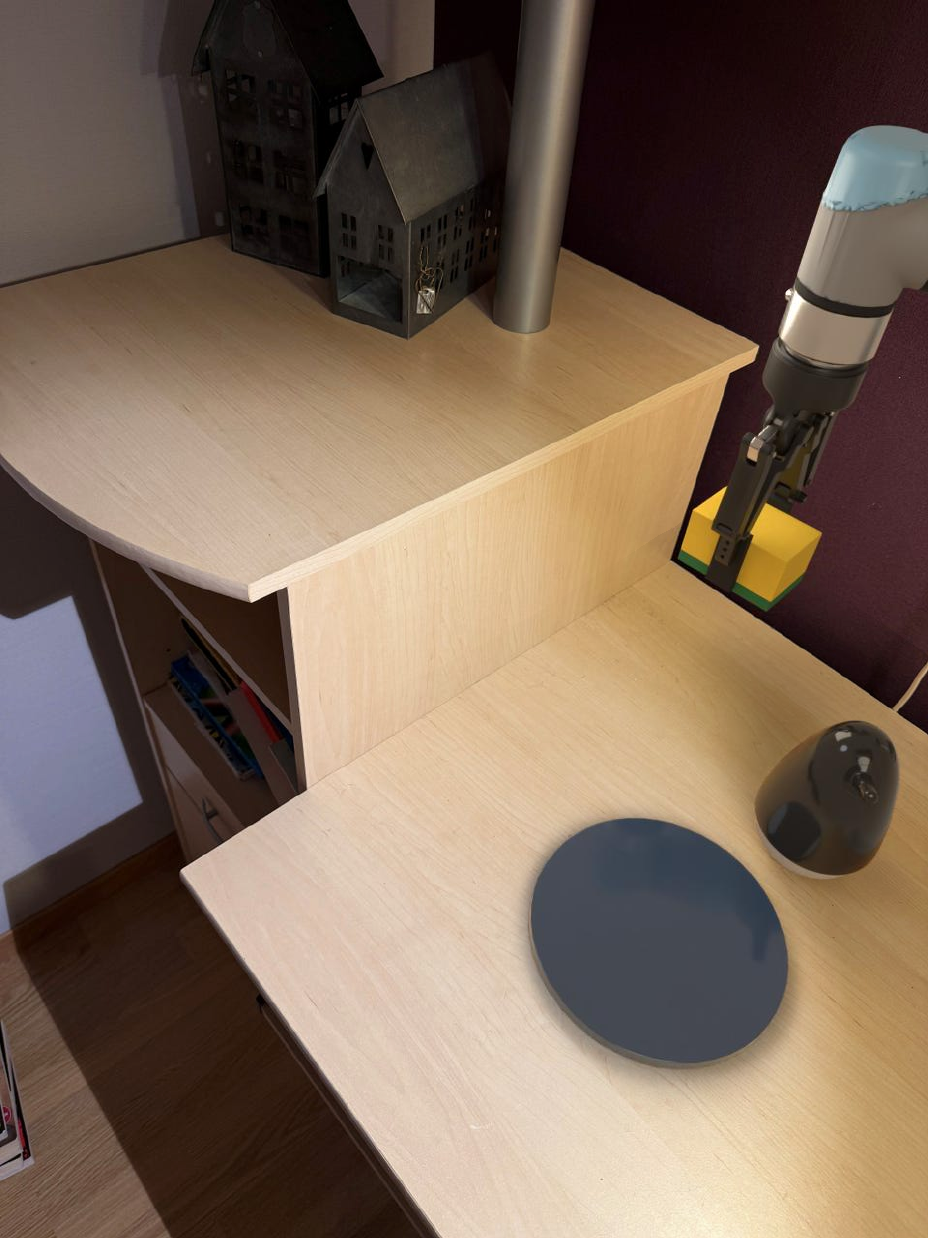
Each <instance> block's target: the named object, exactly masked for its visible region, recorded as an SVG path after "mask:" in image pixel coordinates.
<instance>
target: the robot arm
mask: <svg viewBox="0 0 928 1238" xmlns="http://www.w3.org/2000/svg"><path fill="white" fill-rule="evenodd" d="M907 288H908V289H912V290H916V291H920V292H925V293H928V133H926V132H922V131H920V130H919V129H916V128H910V127H905V126H897V125H896V126H895V125H873V126H871V125H870V126H867V127H863V128H861V129H858V130H856V131H855V132H854V133H852V134H851V135H850V136H849V137H848V138H847V140H846V141H845V143H844V144H843V145H842V147H841V149H840V153H839V155H838V158H837V159H836V162H835V166H834V168H833V170H832V172H831V176H830V178H829V180H828V183H827V186H826V188H825V190H824V191H823V192H822V196H821V200H820V204H819V206H818V210H817V213H816V216H815V219H814V221H813V225H812V228H811V231H810V234H809V237H808V240H807V244H806V246H805V249H804V253H803V256H802V258H801V262H800V265H799V267H798V270H797V274H796V277H795V280H794V284H793V286H792V287H790V288H789V289H788V290H787V291H786V292H785V295H784V298H785V300H786V301H788V302H787V303H786V308H785V310H784V313H783V317H782V319H781V322H780V325H779V328H778V335H779V336H777V338H775V339H774V341H773V342H772V345H771V346H772V347H771V349H770V352H769V355H768V358H767V361H766V363H765V367H764V369H763V373H762V377H761V378H762V384H763V386H764V388H765V390H766V391H767V392H768V393H769V395H770V396H771V398H772V401H773V404H772V405H771V406H770V407H769V408H768V409H767V410H766V412H765V414H764V416H763V417H762V420H761V421H760V422H761V423H760V426H761V428H760V430H759V433H758V435H756V434H754V433H752V432H750V431H747V432H746V434H745V435H744V436H743V437H742V439H741V442H740V447H739V452H738V457H737V460H736V462H735V465H734V468H733V470H732V472H731V475H730V477H729V480H728V483H727V485H726V486H727V488H726V490H725V493H724V496H723V498H722V501H721V503H720V506H719V509H718V511H717V514H716V516H715V518H714V520H713V524H712V527H711V530H713V531H714V532H716V533H718V534H719V535H720V536H719V539H718V542H717V545H716V548H715V550H714V553H713V556H712V559H711V562H710V565H709V567H708V570H707V573H706V575H704V579H705V580H707V581H709V582H710V583H711V584H714V585H715V586H717V587H718V588H720V589H722V590H723V591H725V592H726V593H728V594H729V593H731V592H733V591H732V590H733V588H734V585H735V583H736V580H737V578H738V575H739V572H740V570H741V567H742V565H743V562H744V559H745V557H746V554H747V552H748V549H749V546H750V544H751V541H752V539H753V536H754V535H752V534H750V532H751V530H752V528H753V527H754V525H755V523H756V521H757V519H758V517H759V515H760V513H761V511H762V509H763V507H764V505H765V503H767V504H769V505H771V506H773V507H775V508H777V509H778V510H780V511H782V512H784V513H786V514H788V515H791V512H792V510H793V508H794V503H793V502H796V503H798V504H799V505H803V504H804V503H805V502H806V501H807V499H808V497H809V494H808V493H806V492H804V491H802V490H803V488H805V489H807V488H808V487H809V486H811V484H812V483H813V480H814V476H815V474H816V471H817V468H818V466H819V463H820V460H821V458H822V456H823V454H824V451H825V447H826V445H827V442H828V440H829V438H830V435H831V432H832V429H833V426H834V424H835V422H836V419H837V418H838V415H839V413H840V411H843V410H845V409H847V408H849V407H850V406H852V404H853V403H854V402H855V400H856V398H857V395H858V393H859V391H860V388H861V386H862V384H863V382H864V379H865V377H866V375H867V371H868V369H869V366H870V364H869V361H870V360H871V359H873V358H874V357H875V354H876V353H877V350H878V348H879V345H880V343H881V340H882V338H883V335H884V333H885V330H886V329H887V326H888V323H889V321H890V319H891V316H892V314H893V311H894V309H895V306H896V304H897V301H898V299H899V296H900V295H901V294H902V291H903V289H907ZM773 491H774V492H773Z"/></svg>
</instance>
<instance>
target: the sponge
mask: <svg viewBox="0 0 928 1238" xmlns="http://www.w3.org/2000/svg"><path fill="white" fill-rule="evenodd" d="M726 488H727V485H726V486H725V487H723V488H722V489H721V490H719V491H718V492H716V493H715V494H714V495H712V496H711V497H709V498H707V499H706V500H705V501H704V502H702V503H701V504H699V505H697V507H695V508H693V510H692V512H691V515H690V519H689V522H688V525H687V528H686V531H685V535H684V538H683V541H682V544H681V548H680V550H679V554H678V557H677V560H679V561H681V562H683V563H684V564H685V565H688V566H689V567H691V568H693V569H694V570H696V571H697V572H699V573H701V574H702V575H704V576H706V573H707V570H708V567H709V565H710V562H711V559H712V556H713V553H714V550H715V548H716V545H717V542H718V539H719V536H720V535H719V534H718V533H716V532H714V531H713V530H711V527H712V524H713V520H714V518H715V516H716V514H717V511H718V509H719V506H720V503H721V501H722V498H723V496H724V493H725V490H726ZM750 534H752V535H754V536H753V539H752V541H751V544H750V546H749V549H748V552H747V554H746V557H745V559H744V562H743V565H742V567H741V570H740V572H739V575H738V578H737V580H736V583H735V585H734V588H733V590H732V591H731V592H733V593H734V594H736V595H737V596H740V597H741V598H743V599H745V601H748V602H749V603H751V604H753V605H754V606H756V607H757V608H759V609H761V610H763V611H764V612H768V611H770V610H771V608H773V607H774V606H775V605H776V604H777V603H778V602H780V601H781V600H782V599H783V598H784V597H785V596H786V595H787V594H789V593H790V592H791V591H792V590H793V589H794V588H796V587H797V586H798V585H799V584H800V583H801V582H802V580H803V578H804V576H805V574H806V571H807V569H808V566H809V564H810V561H811V560H812V557H813V555H814V553H815V551H816V548H817V547H818V544H819V542H820V539H821V537H822V535H823V532H821V531H819V530H818V529H816V528H815V527H812V526H810V525H808V524H807V523H805V522H803V521H800V520H799V519H798V518H795V517H793V516H792V515H791V514H789V515H788V514H786V513H784V512H782V511H780V510H778V509H777V508H775V507H773V506H771V505H769V504H767V503H765V505H764V507H763V509H762V511H761V513H760V515H759V517H758V519H757V521H756V523H755V525H754V527H753V528H752V530H751V532H750Z"/></svg>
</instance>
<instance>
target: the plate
mask: <svg viewBox="0 0 928 1238" xmlns="http://www.w3.org/2000/svg"><path fill="white" fill-rule="evenodd" d="M529 904H530V905H529V911H528V933H529V934H528V935H529V943H530V948H531V952H532V957H533V959H534V962H535V966H536V969H537V971H538V973H539V975H540V978H541V979H542V981H543V983H544V985H545V987H546V989H547V991H548V993H549V994H550V996H551V997H552V998H553V1000H554V1001H555V1002H556V1004H557V1005H558V1008H560V1009H561V1011H562V1012H563V1013H564V1014H565V1015H566V1016H567V1017H568V1018H569V1019H570V1021H571V1022H572V1023H573V1024H574V1025H576V1026H577V1027H578V1028H579V1029H580V1030H581V1031H582V1032H583V1033H584V1034H586V1035H587V1036H588V1037H590V1038H591V1039H592V1040H594V1041H595V1042H597V1043H598V1044H600V1045H601V1046H603V1047H604V1048H606V1049H608V1050H610V1051H612V1052H614V1053H615V1054H617V1055H618V1056H621V1057H624V1058H626V1059H629V1060H631V1061H634V1062H636V1063H639V1064H644V1065H646V1066H647V1065H648V1066H652V1067H656V1068H664V1069H672V1070H689V1069H690V1070H692V1069H693V1070H694V1069H698V1068H706V1067H710V1066H713V1065H716V1064H719V1063H722V1062H726V1061H728V1060H729V1059H732V1058H733V1057H735V1056H737V1055H739V1054H741V1053H742V1052H744V1051H745V1050H746V1049H747V1048H749V1047H750V1046H751V1045H753V1044H754V1043H755V1041H756V1040H757V1039H759V1038H760V1036H761V1035H762V1034H763V1033H764V1032H765V1031H766V1029H767V1028H768V1027H769V1026H770V1024H771V1023H772V1021H773V1020H774V1018H775V1016H776V1015H777V1013H778V1011H779V1008H780V1007H781V1004H782V1001H783V999H784V997H785V991H786V988H787V984H788V975H789V974H788V973H789V960H788V959H789V958H788V947H787V942H786V937H785V933H784V930H783V927H782V924H781V920H780V918H779V916H778V914H777V911H776V909H775V907H774V904H773V903H772V901H771V899H770V898H769V896H768V894H767V893H766V891H765V890H764V888H763V886H762V885H761V884H760V883H759V882H758V880H757V879H756V877H755V876H754V875H753V874H752V873H751V872H750V871H749V870H748V869H747V867H746V866H745V865H744V864H742V862H740V861H739V859H737V858H736V857H735V856H734V855H732V854H731V853H730V852H729V851H727V850H726V849H724V847H722V846H721V845H719V844H718V843H716V842H714V841H713V840H711V839H710V838H708V837H706V836H704V835H702V834H700V833H698V832H697V831H694V830H691V829H690V828H688V827H684V826H681V825H678V824H676V823H673V822H668V821H665V820H659V819H653V818H647V817H646V818H645V817H624V818H615V819H609V820H605V821H601V822H597V823H594V824H593V825H592V824H591V825H590V826H587V827H584V828H583V829H581V830H580V831H578V832H576V833H574V834H572V835H571V836H570V837H568V838H567V839H566V840H565V841H563V842H562V843H560V845H558V846H557V848H556V849H555V850H554V851H552V853H551V855H550V856H549V857H548V859H547V860H546V862H545V863H543V867H542V868H541V870H540V872H539V874H538V876H537V879H536V882H535V884H534V888H533V891H532V895H531V898H530V903H529Z"/></svg>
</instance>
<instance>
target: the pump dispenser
mask: <svg viewBox="0 0 928 1238" xmlns="http://www.w3.org/2000/svg"><path fill="white" fill-rule="evenodd" d="M899 759H900V758H899V755H898V752H897V748H896V746H895V744H894V742H893V740H892V738H891V737H890V736H889V734H887V733H886V731H884V730H882V729H881V728H880V727H879V726H877V725H875V724H873V723H870V722H867V721H864V720H859V719H858V720H857V719H855V720H853V719H852V720H843V721H841V722H836V723H833V724H831V725H828V726H825V727H824V728H821V729H820V730H818V731H817V732H814V733H812V734H811V735H810V736H808V737H807V738H805V739H804V740H802V741H801V742H800V743H798V744H797V745H796V746H795V747H793V749H791V750H790V751H788V753H786V755H784V757H782V759H780V761H778V763H776V765H775V766H774V767H773V768H772V769H771V771H769V773H768V774H767V775H766V776H765V778H764V779H763V781H762V783H761V784H760V786H759V788H758V790H757V791H756V795H755V798H754V815H755V825H756V829H757V833H758V836H759V839H760V840H761V843H762V844H763V846H764V848H765V849H766V851H767V852H768V854H769V855H770V857H772V859H774V860H775V861H776V862H777V863H778V864H779V865H781V866H782V867H783V868H785V869H787V871H790V872H792V873H794V874H796V875H798V876H801V877H804V878H809V879H813V880H832V879H838V878H841V877H845V876H846V875H851V874H855V873H857V872H859V871H861V870H863V869H865V867H867V866H868V865H869V864H870V863H871V862H872V861H873V860H874V858H875V857H876V856H877V854H878V852H879V851H880V849H881V847H882V845H883V843H884V841H885V839H886V836H887V833H888V831H889V829H890V826H891V824H892V820H893V816H894V814H895V810H896V805H897V800H898V795H899V789H900V783H901V782H900V779H901V770H900V769H901V767H900V761H899Z"/></svg>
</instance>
